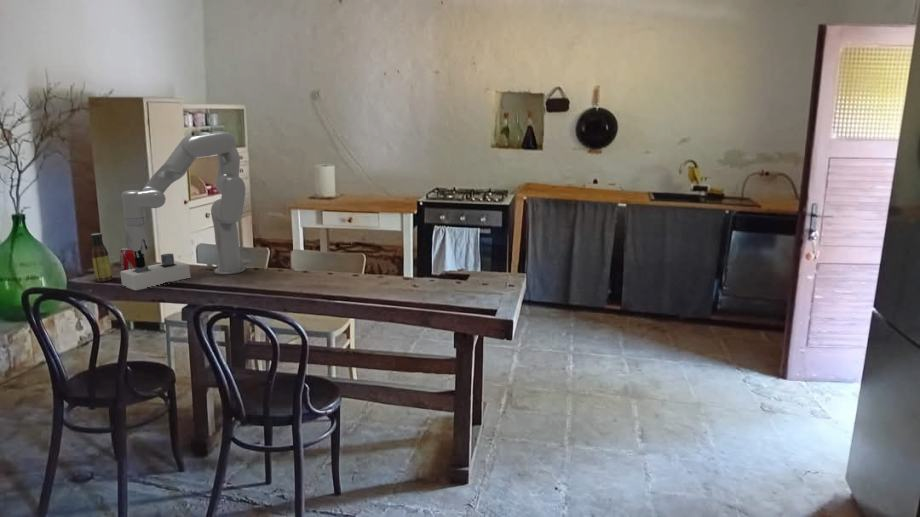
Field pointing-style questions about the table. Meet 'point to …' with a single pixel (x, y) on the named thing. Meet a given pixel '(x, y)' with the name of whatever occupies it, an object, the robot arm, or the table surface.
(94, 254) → the sauce bottle
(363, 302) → the table surface
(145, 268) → the outer pin
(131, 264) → the soda can
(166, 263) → the inner pin
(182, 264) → the pin block
